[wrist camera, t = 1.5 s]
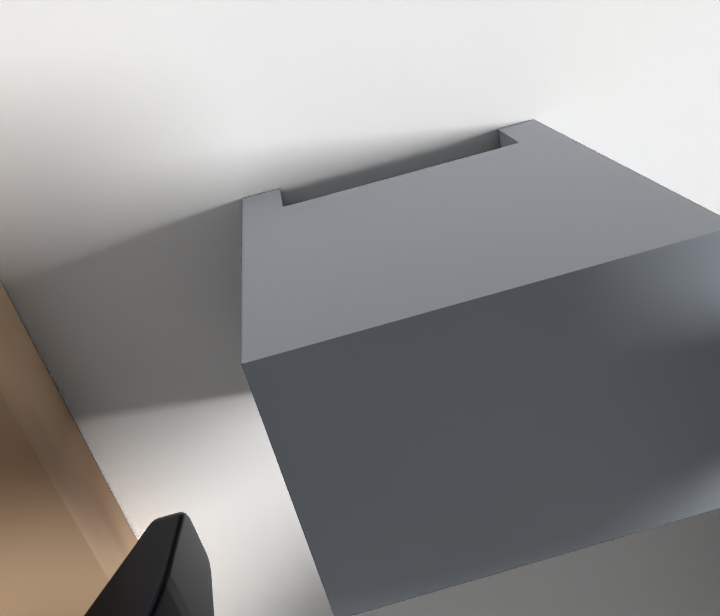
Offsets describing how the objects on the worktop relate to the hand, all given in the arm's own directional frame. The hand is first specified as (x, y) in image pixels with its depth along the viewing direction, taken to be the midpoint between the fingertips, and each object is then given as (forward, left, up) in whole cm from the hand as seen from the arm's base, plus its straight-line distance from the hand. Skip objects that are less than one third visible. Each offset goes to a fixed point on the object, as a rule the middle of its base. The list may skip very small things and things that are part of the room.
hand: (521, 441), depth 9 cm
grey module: (0, 0, -6) cm, 6 cm away
